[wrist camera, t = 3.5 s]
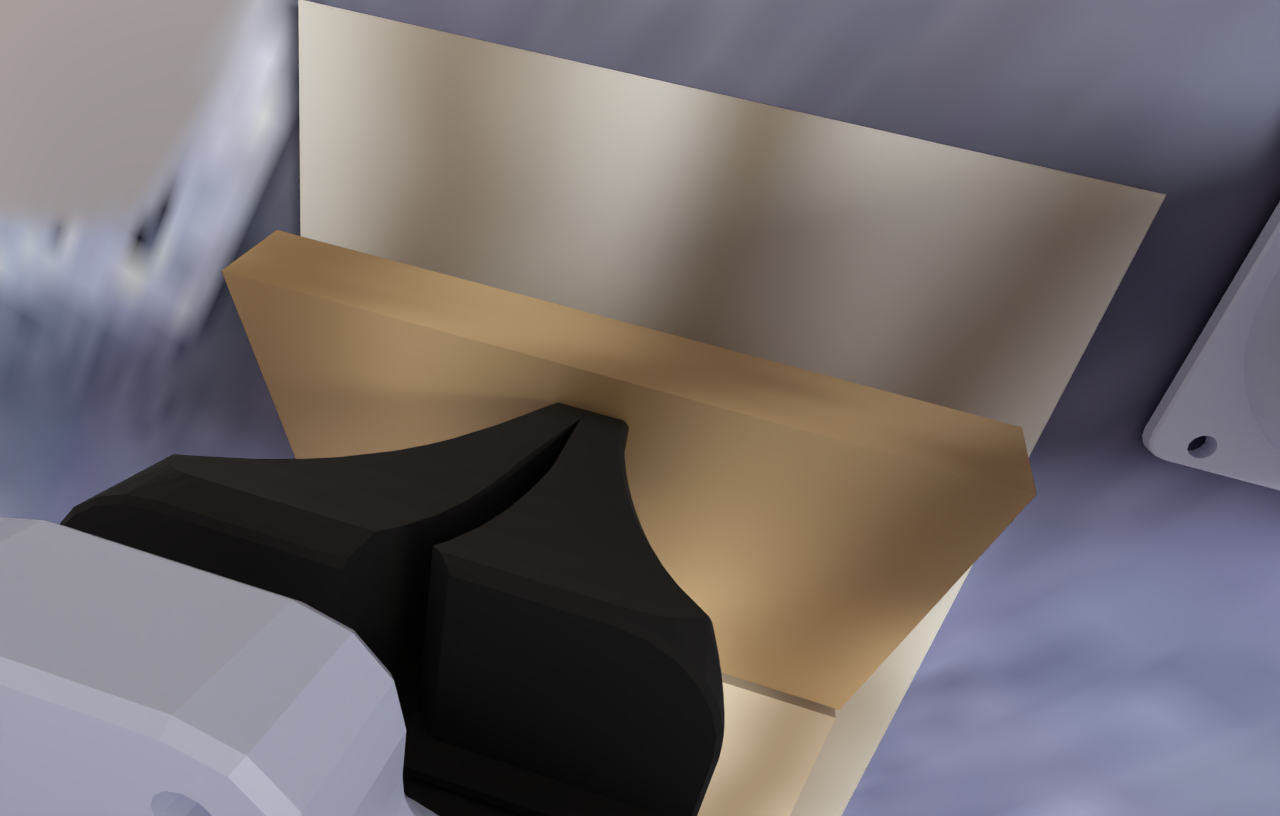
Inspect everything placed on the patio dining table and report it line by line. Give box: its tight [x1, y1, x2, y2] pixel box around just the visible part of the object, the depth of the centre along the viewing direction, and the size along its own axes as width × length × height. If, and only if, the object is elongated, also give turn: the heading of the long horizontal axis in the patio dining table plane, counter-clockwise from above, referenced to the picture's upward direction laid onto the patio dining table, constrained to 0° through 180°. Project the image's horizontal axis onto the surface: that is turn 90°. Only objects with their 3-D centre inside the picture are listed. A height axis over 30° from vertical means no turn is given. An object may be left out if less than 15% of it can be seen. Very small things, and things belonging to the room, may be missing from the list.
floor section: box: [298, 0, 1166, 816], centre depth 17 cm, size 18×20×2 cm
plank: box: [222, 230, 1036, 710], centre depth 14 cm, size 14×9×2 cm, turn 78°
